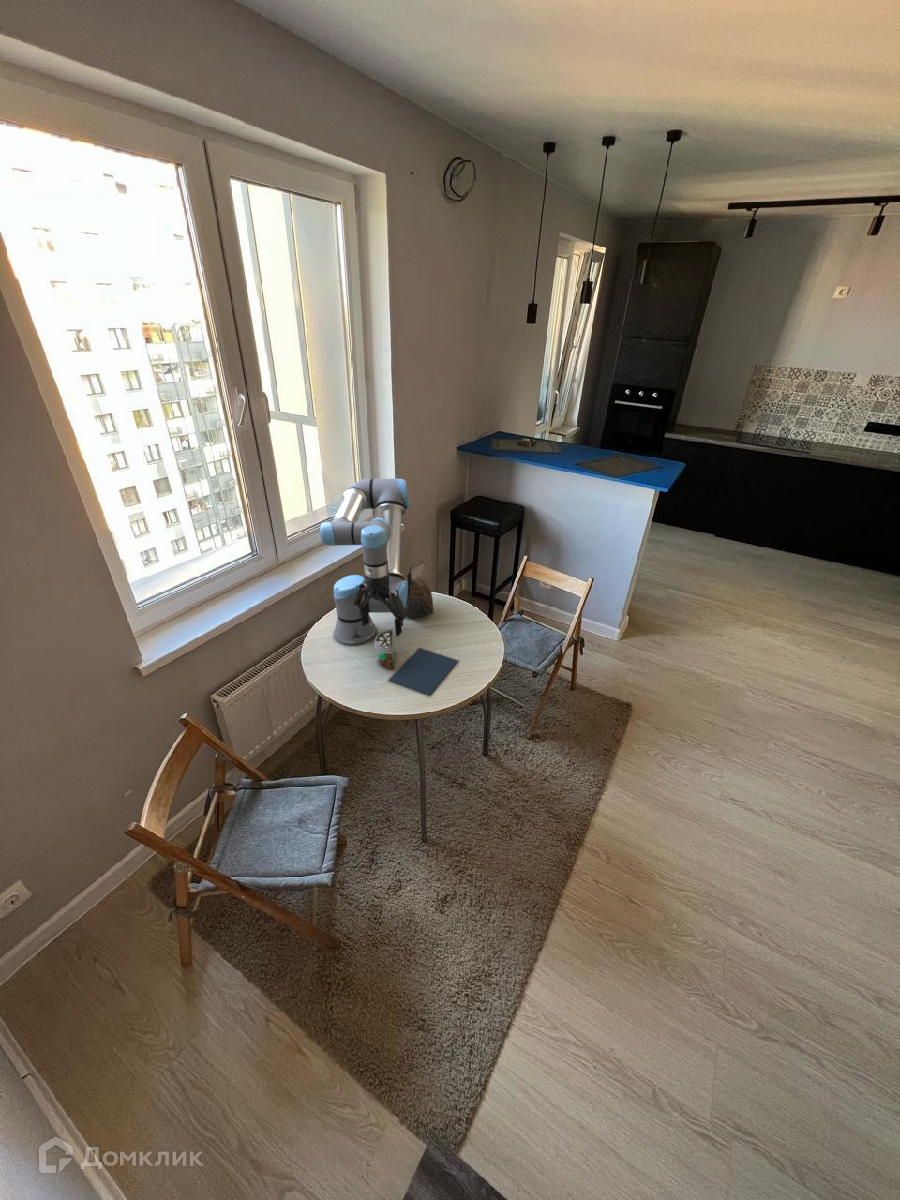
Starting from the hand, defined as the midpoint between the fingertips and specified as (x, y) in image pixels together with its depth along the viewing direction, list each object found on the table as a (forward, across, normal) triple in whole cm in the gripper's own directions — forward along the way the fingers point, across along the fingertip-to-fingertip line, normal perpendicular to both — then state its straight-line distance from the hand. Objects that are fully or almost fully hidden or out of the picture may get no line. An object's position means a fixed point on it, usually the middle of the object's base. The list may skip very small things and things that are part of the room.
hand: (382, 629), depth 167 cm
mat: (+14, +15, +2) cm, 21 cm away
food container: (+14, 0, 0) cm, 14 cm away
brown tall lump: (+13, -7, +34) cm, 37 cm away
